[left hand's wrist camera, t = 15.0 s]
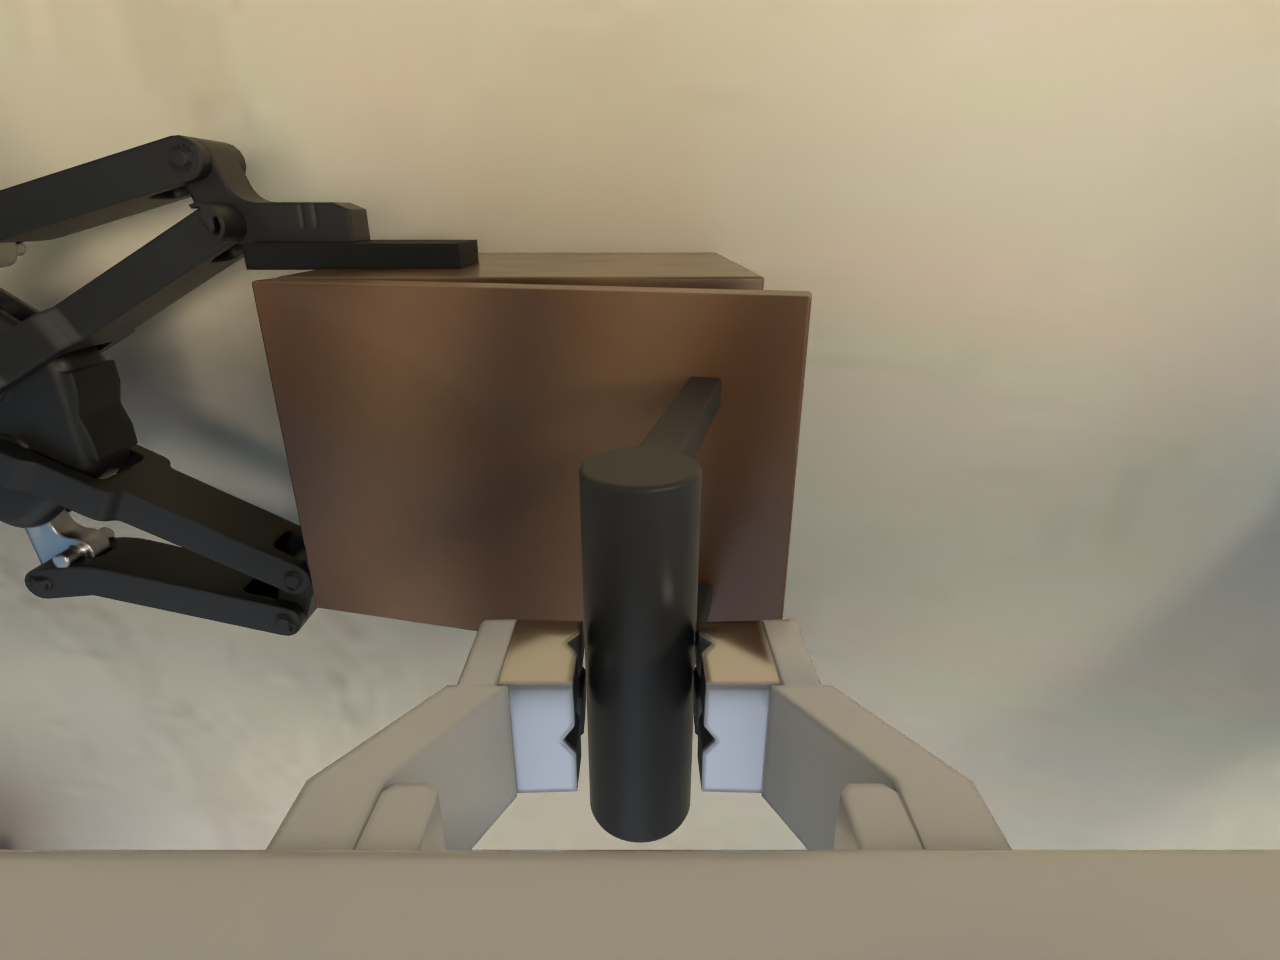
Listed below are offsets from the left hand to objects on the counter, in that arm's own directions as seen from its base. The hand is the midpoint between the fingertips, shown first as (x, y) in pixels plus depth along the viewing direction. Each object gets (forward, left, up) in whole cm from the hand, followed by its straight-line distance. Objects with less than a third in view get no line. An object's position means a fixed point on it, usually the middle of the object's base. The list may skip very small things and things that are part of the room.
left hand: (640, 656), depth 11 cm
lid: (+1, -2, -9) cm, 9 cm away
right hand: (+2, -5, -14) cm, 15 cm away
